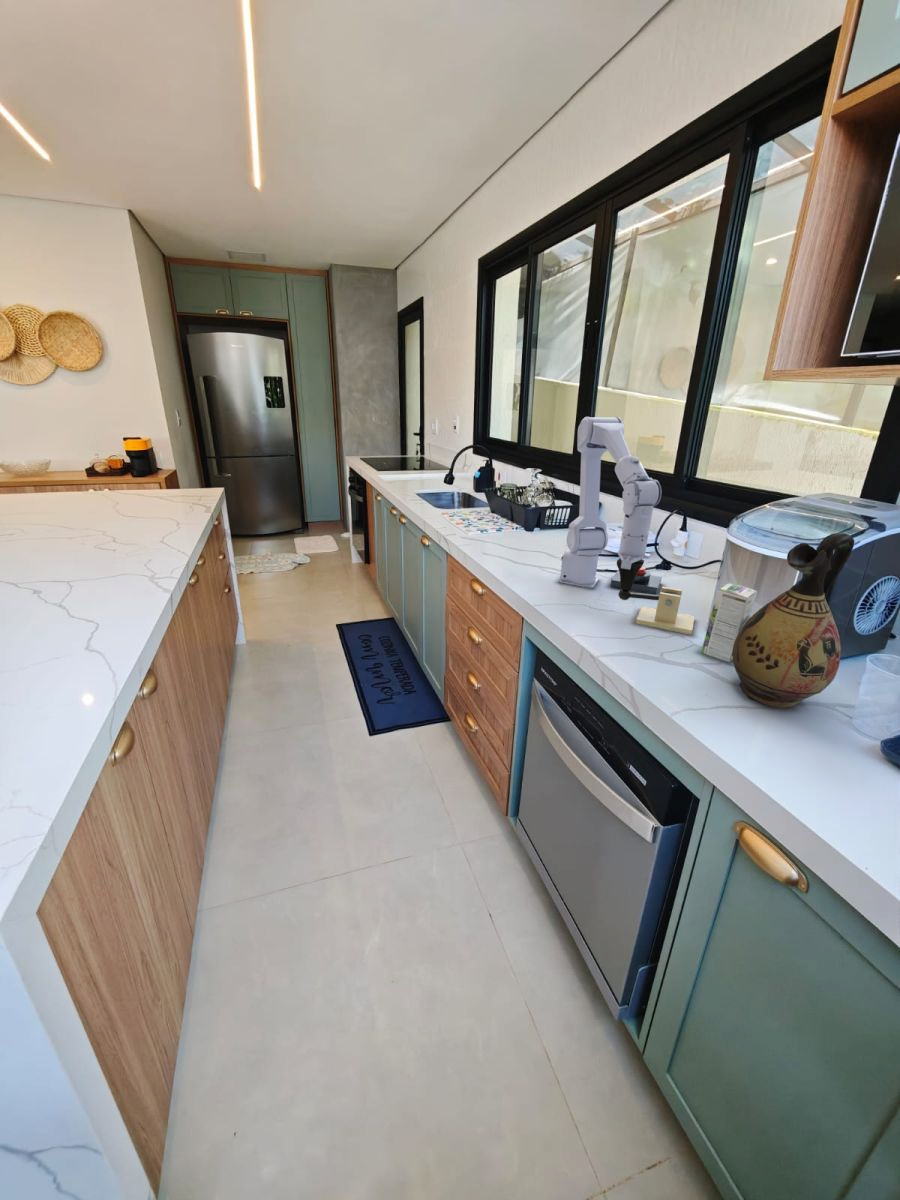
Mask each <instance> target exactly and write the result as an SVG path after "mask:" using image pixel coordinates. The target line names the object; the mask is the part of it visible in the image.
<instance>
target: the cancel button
mask: <svg viewBox="0 0 900 1200" xmlns="http://www.w3.org/2000/svg"><path fill="white" fill-rule="evenodd" d="M645 570H646V571H647V569H646V567H645V566H643V565H642V567H641V568H640V570H639V571H638V572H637V575H644V574H645Z"/></svg>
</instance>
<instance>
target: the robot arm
mask: <svg viewBox="0 0 900 1200" xmlns="http://www.w3.org/2000/svg"><path fill="white" fill-rule="evenodd" d="M625 428H626V427H625V424H624V422H623V418H621V417H620V416H615V417H590V416H585V417H584V418H582V420H581V421H580V423H579V425H578V428H577V440H576V441H577V444H576V445H577V446H576V447H577V451H578V452H579V453H580V478H579V479H580V481H579V482H580V483H579V485H580V486H579V509H578V512H579V513H578V514H579V515H578V517H576V518H575V519H574V520H572V521H571V522H570V523H569V524H568V531H567V535H566V546H567V548H568V549H565V550H564V552H563V555H562V558H561V559H562V560H561V568H560V577H559V583H561V584H566V585H571V586H578V587H582V588H587V589H594V587H595V586H596V585H597V583H598V582H599V580H600V579H599V578H597V577H596V576H597V571H598V562H599V555H600V554H602V552H603V551H604V550H605V549H606V548H607V546H608V543H609V536H608V531H607V523H606V522H605V521H604V520H602V519H601V518H600V516H599V512H600V492H601V491H600V490H601V489H600V488H601V466H602V465H601V464H602V463H601V462H602V457H603V456H604V454H605V453H607V452H608V453H609V454H610V456H611V457H612V459H613V460H614V462H615V466H614V472H615V474H616V477H617V479H618V480H619V483H620V485H621V487H622V488H623V491H622V495H621V496H622V503H623V508H622V510H623V514H624V519H623V524H622V530H621V536H620V543H619V544H620V545H619V549H618V552H617V555H618V557H619V558H618V559H617V560H616V567H617V568H618V569H617V570H619V573H620V584H621V589H620V590H628V591H630V592H631V588H632V586H633V583H634V580H635V577H636V575H637V572H638V571H639V570H640V568H641V567H642V566H643V565H644V564H645V560H644V559H648V560H649V559H650V558H651V553H648V552H647V551H646V550H647V545H648V540H649V539H648V538H649V535H650V534H649V533H650V529H651V523H652V517H653V511H654V507H656V506H657V505H659V503H660V501H661V498H662V493H663V491H662V486H661V484H660V482H659V480H657V479H653V478H652V477H649V475H648V473H647V471H646V469H645V467H643V464H642V462H641V461H640V459H639V457H637V456H634V455H631V452H630V450H629V448H628V445H627V443H626V440H625V438H624V435H625ZM646 552H647V553H646Z"/></svg>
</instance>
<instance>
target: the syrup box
mask: <svg viewBox="0 0 900 1200" xmlns="http://www.w3.org/2000/svg"><path fill="white" fill-rule="evenodd" d="M757 594H758V590H755V589H752V588H749V587H746V586H744V585H738V584H734V583H727V584H725V585H724V586H723V587H721V588H719V589H718V590H717V591H716V595H715V599H714V601H713V602H714V603H713V606H712V611H711V614H710V618H709V621H708V625H707V629H706V634H705V636H704V640H703V643H702V647H701V651H700V652H701V654H704V655H706V656H709V657H712V658H715V659H718V660H721V661H724V662H728V663H731V662H733V656H732V651H733V645H734V642H735V639H736V637H737V635H738V634H739V632H740V631H741V629H742V628H743V626H744V625H745V623H746V622H747V621H748V620H749V619H750V617H751V616H752V612H753V608H754V603H755V602H756V598H757Z"/></svg>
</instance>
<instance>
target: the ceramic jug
mask: <svg viewBox="0 0 900 1200" xmlns="http://www.w3.org/2000/svg"><path fill="white" fill-rule="evenodd" d="M854 546H855V539H854V538H853V536H852V535H850V534H848V533H844V532H842V533H835V532H834V533H831V534H829V535H827V536H825V537H824V538H823V539H822V540H821V541H820V542H819V544H818V545H817V547H816V548H815V547H813V546H811V545H810V544H809V543H806V542H800V543H799V544H796V545H794V546H793V547H792V548H791V549H789V551H788V552H787V555H786V562H787V565H789V566H790V567H791V568H792V569H794V570H795V571H798V572H800V573H801V574H802V575H801V578H800V580H798V581H796V583H795V584H793V585H792V586H791V587H790V588H789V589H788V590H785V591H784V592H782V593H780V594H779V595H777V596H776V597H775V598H774V599H772V600H770V601H769V602H767V603H766V604H765V605H764V606H763V605H762V607H761V608H759V609H758V610H757V611H756V612H754V613H753V614H752V615H751V616H750V619H749V620H748V621H747V622H746V623H745V625H744V626H743V628H742V629H741V631H740V632H739V634H738V635H737V637H736V639H735V642H734V645H733V651H732V656H733V660H732V663H733V667H734V670H735V672H736V675H737V676H738V679H739V680H740V682H739V684H738V685H739V688H740V689H741V691H742V693H743V694H744V695H745V696H746V697H747V698H748V699H751V700H754V701H757V702H758V703H761V704H763V705H766V706H769V707H772V708H780V709H786V708H793V707H795V706H796V705H798V704H799V703H800V702H802V701H805V700H807V699H809V698H811V697H815V696H816V695H819V694H821V692H823V691H824V690H825V689H827V688H828V686H830V685H831V683H832V682H833V681H834V680H835V677H836V676H837V673H838V670H839V667H840V663H841V657H842V647H841V639H840V635H839V630H838V628H837V624H836V622H835V619H834V616H833V613H832V610H831V608H830V606H829V604H828V602H827V597H828V593H829V591H830V588H831V587H832V586H833V584H834V582H835V580H836V578H837V577H838V576H839V574H840V573H841V572H842V571H843V568H844V566H845V565H846V563H847V562H848V560H849V558H851V555H852V552H853V549H854V548H855V547H854Z"/></svg>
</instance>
